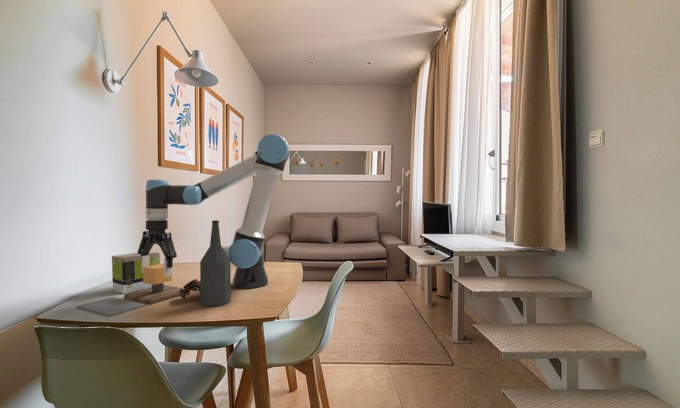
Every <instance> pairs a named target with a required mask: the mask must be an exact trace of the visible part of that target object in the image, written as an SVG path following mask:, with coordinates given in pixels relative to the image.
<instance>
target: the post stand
mask: <svg viewBox="0 0 680 408" xmlns="http://www.w3.org/2000/svg"><path fill="white" fill-rule="evenodd" d="M181 288H183V287H179V286H174V285H173V286H171V285H166V284H164V283H160V284H156V285H153V284H152V288H148V289H143V290H138V291H134V292H129V293H125V294H124V297H123V299H125V300H129V301H133V302H138V301H139V302H138V303H142V304H146V305H147V304H148V305H154V304H157V303H161V302H164V301H168V300H171V299H174V298H179V297H181V293H180V291H179V290H180V289H181ZM183 289H184V288H183Z"/></svg>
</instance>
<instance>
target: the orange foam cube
mask: <svg viewBox="0 0 680 408" xmlns="http://www.w3.org/2000/svg"><path fill="white" fill-rule="evenodd" d="M172 278H173V275H172V276H167V277H164V264H162V263H160V264H157V265H152V266H147V267H143V283H148V284H153V285H156V284H160V283H163V284H164V283H169V282H172V280H173V279H172Z"/></svg>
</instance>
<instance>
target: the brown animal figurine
mask: <svg viewBox="0 0 680 408" xmlns="http://www.w3.org/2000/svg"><path fill="white" fill-rule="evenodd" d="M180 288H181V289H180V290H179V291H180V293H181V296H180V298H182V299H186V297H187V296H189V297H190V293H191V292H194V291H195V292H197V291H198V292H199V293H200V280H198V279H197V278H196V279H192V280H191V281H189V282H187V283H186V284H185V285H184V286H182V287H180ZM183 288H184V289H183Z"/></svg>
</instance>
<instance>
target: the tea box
mask: <svg viewBox="0 0 680 408" xmlns="http://www.w3.org/2000/svg"><path fill="white" fill-rule="evenodd" d="M149 255H150V262H149V266H152V265H157V264H161V263H160V262H161V258H160V256H161V255H160V252H157V251H151V250H150V252H149ZM111 267H112V270H111V271H112V276H111V277H112V289H113V291H114V292H117V293H120V294H128V293H132V292H136V291H140V290H144V289H149V288H152V284H148V283H143V273H142V256H141V255H140V254H138V251H137V252H131V253H123V254H117V255H116V254H115V255H111Z"/></svg>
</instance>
